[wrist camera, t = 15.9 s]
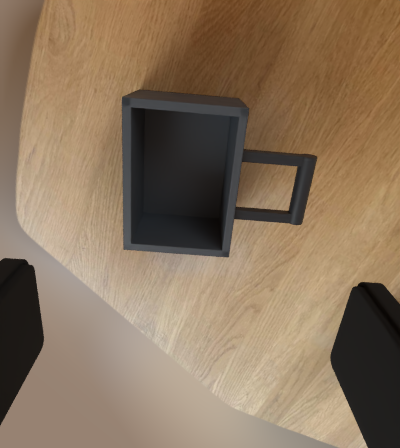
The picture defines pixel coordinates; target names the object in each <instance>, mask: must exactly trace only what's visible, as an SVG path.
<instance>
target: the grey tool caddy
mask: <svg viewBox="0 0 400 448" xmlns="http://www.w3.org/2000/svg"><path fill="white" fill-rule="evenodd" d="M248 114H249V108H248V107H247V106H246V105H245V104H244V103H243V102H242V101H241V100H240V99H239V98H229V97H217V96H206V95H195V94H184V93H173V92H162V91H150V90H137V91H135V92H133V93H130V94H128V95H126V96H123V97H122V151H123V245H124V250H137V251H150V252H163V253H176V254H190V255H203V256H216V257H229V252H230V245H231V237H232V230H233V223H234V219H241V220H254V221H267V222H279V223H290V224H293V225H301V224H302V222H303V218H304V213H305V209H306V204H307V200H308V196H309V191H310V187H311V183H312V178H313V174H314V170H315V165H316V161H317V156H315V155H311V154H293V153H282V152H270V151H258V150H246V149H244V142H245V135H246V128H247V120H248ZM242 162H252V163H264V164H276V165H288V166H298V168H297V173H296V177H295V182H294V187H293V192H292V197H291V202H290V206H289V211H283V210H270V209H258V208H245V207H236V201H237V194H238V186H239V179H240V172H241V164H242Z"/></svg>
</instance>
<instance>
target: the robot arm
mask: <svg viewBox="0 0 400 448" xmlns="http://www.w3.org/2000/svg"><path fill="white" fill-rule="evenodd" d="M43 342H44V336H43V327H42V320H41V313H40V305H39V298H38V291H37V284H36V276H35V270H34V267H33V266H32V265H29V264H28V262H27V261H26V260H25V259H10V258H4V259H2V260H1V261H0V425H1V423H2V421H3V419H4V418H5V416H6V414H7V412H8V410H9V408H10V407H11V405H12V403H13V401H14V399H15V397H16V395H17V394H18V392H19V390H20V388H21V386H22V384H23V382H24V381H25V379H26V377H27V375H28V373H29V371H30V370H31V368H32V366H33V364H34V362H35V360H36V359H37V357H38V355H39V353H40V351H41V349H42V346H43ZM331 365H332V368H333V370H334V372H335V374H336V377H337V379H338V381H339V383H340V386H341V388H342V390H343V392H344V395H345V397H346V399H347V401H348V404H349V406H350V408H351V410H352V413H353V415H354V417H355V419H356V422H357V424H358V426H359V429H360V431H361V433H362V435H363V438H364V440H365V442H366V444H367V447H368V448H400V304H399V303H398V302H397V300H396V299H395V298H394V297H393V296H392V294H391V293H390V292H389V291H388V290H387V288H386V287H385V286H384V285H383V284H381V283H369V282H361V283H359V284H358V286H357V287H356V286H355V287H353V288H352V290H351V293H350V296H349V299H348V302H347V305H346V308H345V312H344V315H343V318H342V321H341V324H340V327H339V330H338V333H337V336H336V339H335V342H334V345H333V349H332V352H331Z"/></svg>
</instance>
